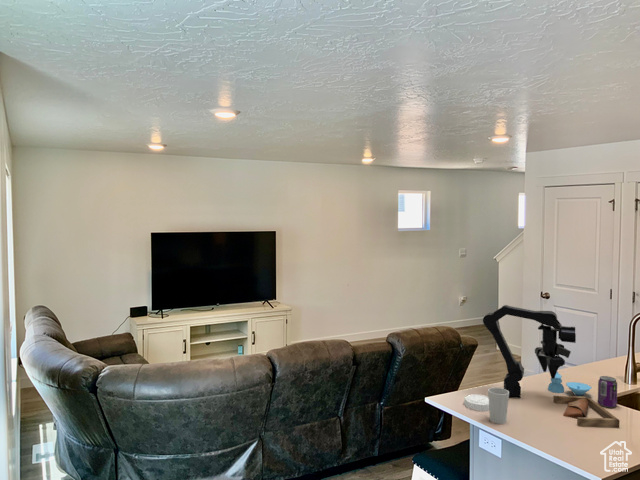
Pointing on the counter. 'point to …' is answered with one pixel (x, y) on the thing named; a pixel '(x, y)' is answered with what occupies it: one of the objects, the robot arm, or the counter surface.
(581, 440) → the counter surface
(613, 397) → the beverage can
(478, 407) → the mooncake
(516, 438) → the counter surface
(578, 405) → the sunglasses case
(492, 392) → the cup
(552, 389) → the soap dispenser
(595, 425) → the corral
